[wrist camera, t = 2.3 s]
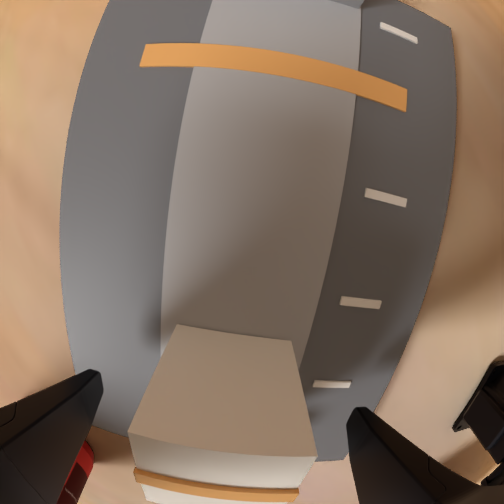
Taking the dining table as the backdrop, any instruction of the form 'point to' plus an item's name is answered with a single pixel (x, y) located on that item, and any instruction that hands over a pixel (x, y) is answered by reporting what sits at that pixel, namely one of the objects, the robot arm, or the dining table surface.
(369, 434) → the robot arm
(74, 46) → the dining table surface
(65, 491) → the canned food
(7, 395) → the dining table surface
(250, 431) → the fader tab
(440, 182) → the console plate
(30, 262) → the dining table surface
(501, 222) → the dining table surface
